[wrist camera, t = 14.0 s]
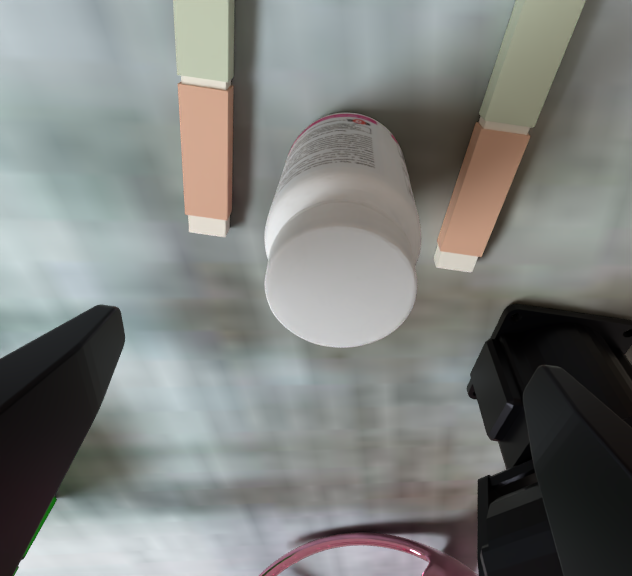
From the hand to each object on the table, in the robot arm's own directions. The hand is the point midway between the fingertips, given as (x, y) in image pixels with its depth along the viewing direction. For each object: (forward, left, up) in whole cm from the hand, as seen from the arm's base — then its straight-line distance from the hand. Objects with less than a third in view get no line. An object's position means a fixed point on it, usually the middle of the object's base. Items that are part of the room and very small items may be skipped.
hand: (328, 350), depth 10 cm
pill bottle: (0, 0, -11) cm, 11 cm away
